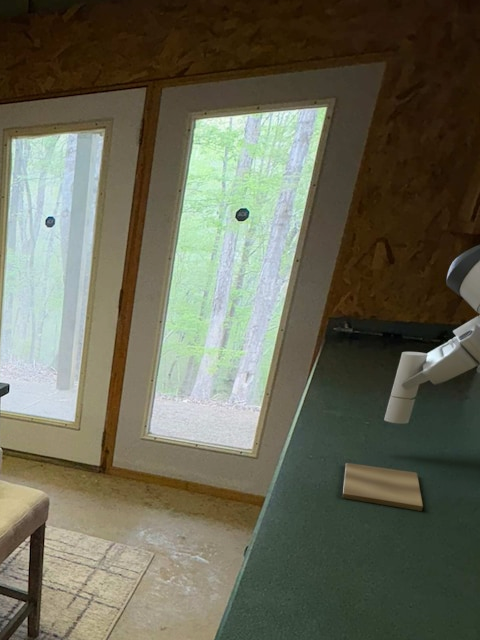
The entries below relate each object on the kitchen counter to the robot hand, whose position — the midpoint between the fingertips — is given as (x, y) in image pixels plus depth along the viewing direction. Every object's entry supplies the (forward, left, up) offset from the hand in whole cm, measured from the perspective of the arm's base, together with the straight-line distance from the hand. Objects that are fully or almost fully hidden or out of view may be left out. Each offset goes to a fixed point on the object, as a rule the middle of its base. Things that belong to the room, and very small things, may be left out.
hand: (403, 384), depth 136 cm
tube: (0, 0, -8) cm, 8 cm away
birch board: (+8, +22, -16) cm, 29 cm away
